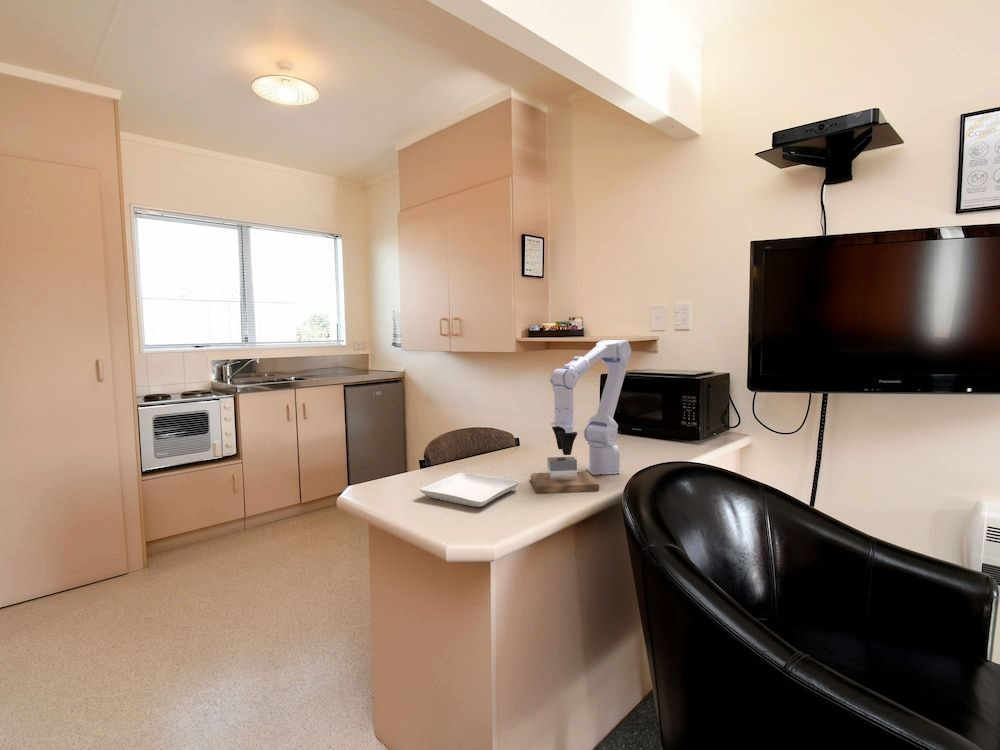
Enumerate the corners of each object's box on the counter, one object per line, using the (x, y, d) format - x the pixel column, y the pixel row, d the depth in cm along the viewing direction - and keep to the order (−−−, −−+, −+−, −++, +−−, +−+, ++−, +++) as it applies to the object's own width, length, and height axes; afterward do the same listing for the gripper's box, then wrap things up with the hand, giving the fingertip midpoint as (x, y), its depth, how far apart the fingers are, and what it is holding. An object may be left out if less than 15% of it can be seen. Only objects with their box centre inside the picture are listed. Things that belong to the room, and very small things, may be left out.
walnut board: (587, 477, 157) (587, 471, 157) (599, 490, 143) (599, 484, 143) (530, 479, 156) (530, 473, 156) (537, 493, 142) (537, 486, 142)
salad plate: (521, 491, 145) (521, 479, 145) (482, 514, 127) (481, 500, 127) (461, 481, 156) (461, 470, 156) (417, 501, 138) (417, 489, 137)
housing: (547, 476, 151) (547, 457, 151) (573, 475, 152) (573, 456, 151) (550, 481, 147) (550, 461, 146) (576, 480, 147) (576, 460, 147)
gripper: (546, 405, 158) (547, 447, 159) (555, 411, 144) (556, 458, 145) (568, 404, 159) (568, 446, 160) (579, 411, 144) (579, 457, 145)
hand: (564, 451), depth 152 cm, fingers open, 7 cm apart
